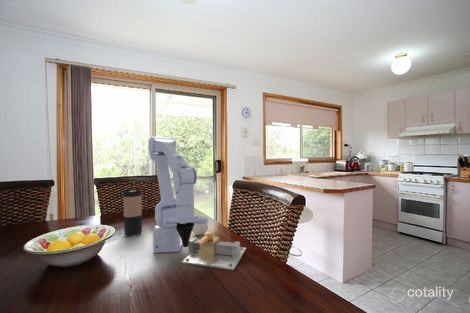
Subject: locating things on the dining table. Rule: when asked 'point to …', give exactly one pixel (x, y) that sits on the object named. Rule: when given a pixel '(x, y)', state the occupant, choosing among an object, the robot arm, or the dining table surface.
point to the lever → (203, 240)
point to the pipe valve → (216, 247)
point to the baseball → (199, 229)
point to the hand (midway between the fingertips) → (186, 245)
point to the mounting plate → (214, 260)
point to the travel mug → (132, 212)
